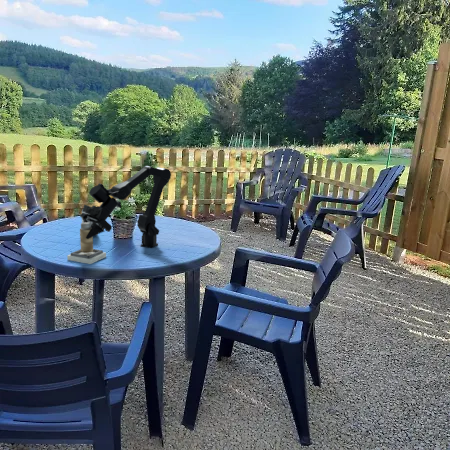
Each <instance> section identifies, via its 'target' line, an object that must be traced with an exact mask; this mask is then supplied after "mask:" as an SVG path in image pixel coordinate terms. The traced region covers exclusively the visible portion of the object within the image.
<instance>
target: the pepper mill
mask: <svg viewBox="0 0 450 450" xmlns="http://www.w3.org/2000/svg"><path fill="white" fill-rule="evenodd" d="M90 230H91V223H89V222H84V223H82V222H81V223H80V228H79V239H80V240H79V242H80V249H81V252H82V253H90V252H93V249H94V236H93V237H91V238H89V239H86V236H87V235H88V233H89V231H90Z"/></svg>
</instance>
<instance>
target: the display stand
mask: <svg viewBox="0 0 450 450" xmlns="http://www.w3.org/2000/svg"><path fill="white" fill-rule="evenodd" d="M66 257H67V261H71V262H78V263H82V264H88V265H91V264H94V263H96V262H99V261H100V260H102V259H105V258H107V252H106V251H104V250H101V249H96V248H95V249H94V248H93V252H90V253H82V252H81V248H80V249H78V250H75V251H73V252H71V253H70V254H68V255H66Z"/></svg>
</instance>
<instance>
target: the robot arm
mask: <svg viewBox="0 0 450 450" xmlns="http://www.w3.org/2000/svg"><path fill="white" fill-rule="evenodd" d="M150 176H152V182H153V186H152V188H151V193H150V195H149V199H148V201H147V205H146V208H145V211H144V212H143V214H139V215H138V220H136V222H137V228H138V229H139V231H140V233H141V234H142V235H141V244H140V247H146V248H151V249H152V248H155V247H156V246H158V245H159V243H158V241H157V236H158V235H159V234H160V229H158V227H157V226H156V222H157V221H156V216H155V215H156V213H157V209H158V207H159V203H160V201H161V196H162V193H163V190H164V187H165V186H166V185H167V184H168V183H169V181H170V179H171V177H172V172H171V171H170V169H168V168H165V167H161V166H160V167H159V166H158V167H153V166H149V165H144V166H143V167H142V168H141V169H140V170H138V171H137V172H136V173H135V174H133V175H132V176H131V177H129V178H128V179H127V180H125V181H122V182H119V183H117V184H114V185H113V186H111V188H108V189H107V188H106V187H105V186H104V184H102V183H98V184H97V185H95V186H94V187H93V186H92V188H90V190H89V192H88V194H89V195H90V197H92V198H93V199H94V200H95V201H96V202H97V204H98V203H99V204H100V205H99V206H98V205H92V206H89V205H87V204H84V205H83V208H82V209H83V210H81V214H80V215H79V217H80V218H81V219H82V218H83V222H89V223H91V230H90V231H89V233H88V235H87V236H86V239H89V238H91V237H93V238H94V237H95V236H97V234H98V235H99V234H102V233H105V232H107V233H108V232H109V233H110V232H111V230H112V229H113V227H112V224H110V223H109V222H108V221H107V219H108V218H111V217H112V215H111V214H112V213H113V211H114V210H115V209H116V207H117V208H119V209H122V203H121V201H123V200H126V199H127V198H128V197H129V196H130V194H131V193H132V191H133V189H135V188H136V187H137V186H138V185H140V184H141V183H142V182H144V181H145V180H146V179H148V178H149V177H150ZM116 199H117V200H116ZM119 200H120V201H119ZM82 212H85V213H82Z"/></svg>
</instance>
